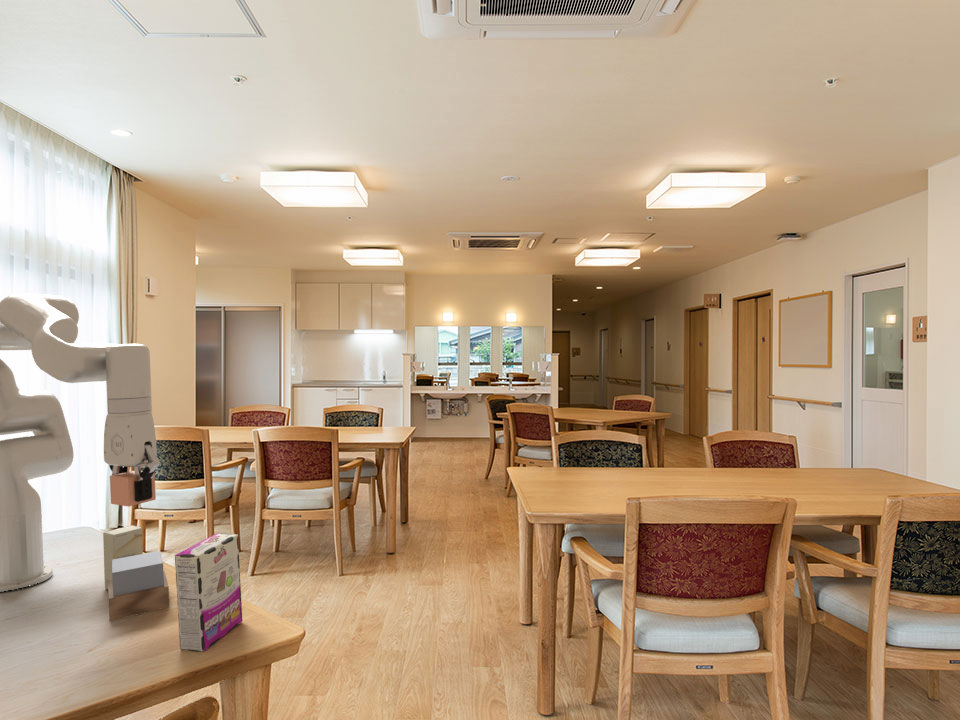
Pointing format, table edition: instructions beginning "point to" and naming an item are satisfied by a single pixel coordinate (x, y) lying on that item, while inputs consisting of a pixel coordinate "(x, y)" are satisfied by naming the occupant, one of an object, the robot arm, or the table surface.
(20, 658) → the table surface
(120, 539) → the skincare box
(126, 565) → the slate grey top block
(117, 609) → the walnut base block
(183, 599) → the candy bar box
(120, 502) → the terracotta cube
